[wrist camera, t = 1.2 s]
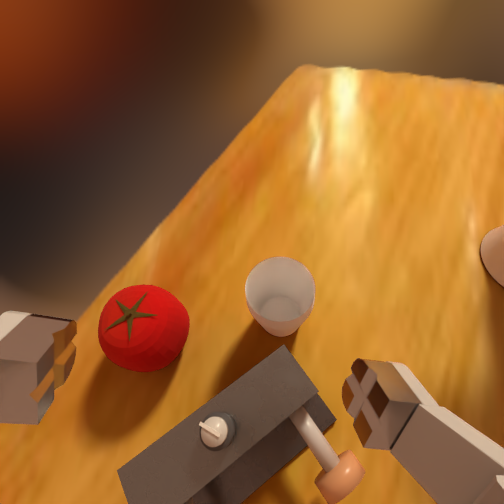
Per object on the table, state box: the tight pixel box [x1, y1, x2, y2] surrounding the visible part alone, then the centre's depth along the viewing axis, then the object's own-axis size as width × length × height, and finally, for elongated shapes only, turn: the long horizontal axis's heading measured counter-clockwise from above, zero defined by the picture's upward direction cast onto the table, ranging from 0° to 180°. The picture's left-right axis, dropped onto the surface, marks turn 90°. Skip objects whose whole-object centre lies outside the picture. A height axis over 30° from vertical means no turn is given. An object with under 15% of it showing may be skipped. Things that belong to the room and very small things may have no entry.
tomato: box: [98, 285, 189, 372], centre depth 41 cm, size 12×12×13 cm
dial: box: [199, 412, 236, 451], centre depth 28 cm, size 3×3×4 cm
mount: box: [117, 345, 337, 504], centre depth 33 cm, size 10×23×11 cm, turn 125°
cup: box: [245, 257, 315, 337], centre depth 41 cm, size 9×9×12 cm
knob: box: [289, 406, 365, 504], centre depth 32 cm, size 9×5×5 cm, turn 35°
